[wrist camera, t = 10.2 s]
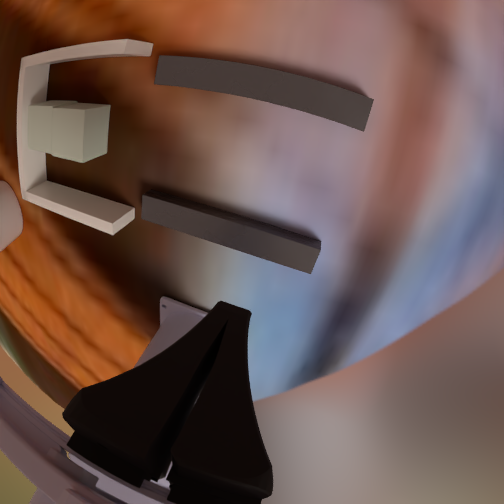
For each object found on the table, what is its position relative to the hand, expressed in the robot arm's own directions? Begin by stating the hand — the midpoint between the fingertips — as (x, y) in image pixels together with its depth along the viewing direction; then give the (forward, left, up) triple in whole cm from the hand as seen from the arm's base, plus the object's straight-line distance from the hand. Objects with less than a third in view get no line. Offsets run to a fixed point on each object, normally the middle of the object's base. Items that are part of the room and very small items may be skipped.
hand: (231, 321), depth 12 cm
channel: (+4, +3, -9) cm, 11 cm away
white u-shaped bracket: (+4, +18, -9) cm, 20 cm away
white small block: (+4, +16, -10) cm, 19 cm away
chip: (+4, +20, -10) cm, 23 cm away
